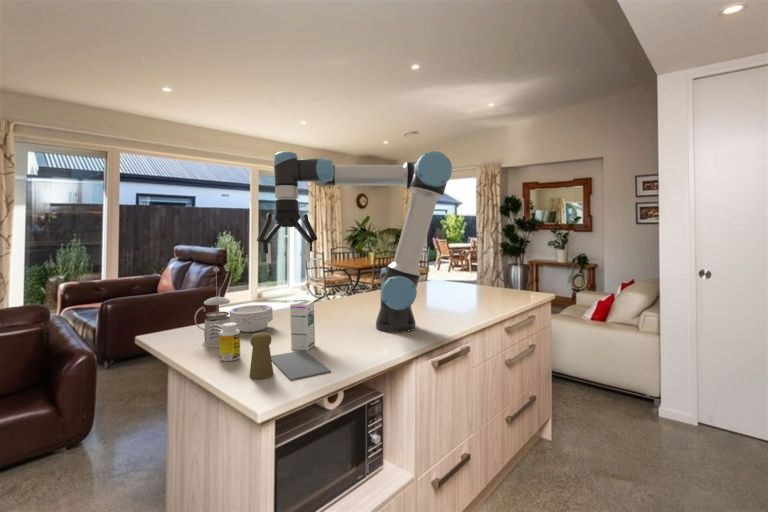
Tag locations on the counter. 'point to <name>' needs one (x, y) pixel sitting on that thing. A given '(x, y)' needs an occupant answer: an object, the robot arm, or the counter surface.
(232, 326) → the supplement bottle
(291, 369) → the mat
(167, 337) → the counter surface
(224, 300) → the french press
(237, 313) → the white bowl
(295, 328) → the syrup box
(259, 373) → the olive pawn
